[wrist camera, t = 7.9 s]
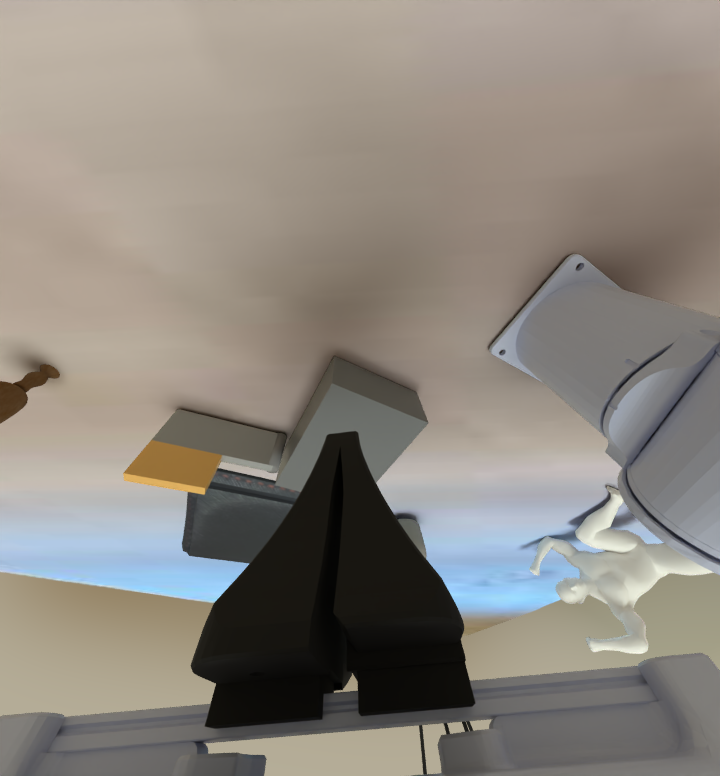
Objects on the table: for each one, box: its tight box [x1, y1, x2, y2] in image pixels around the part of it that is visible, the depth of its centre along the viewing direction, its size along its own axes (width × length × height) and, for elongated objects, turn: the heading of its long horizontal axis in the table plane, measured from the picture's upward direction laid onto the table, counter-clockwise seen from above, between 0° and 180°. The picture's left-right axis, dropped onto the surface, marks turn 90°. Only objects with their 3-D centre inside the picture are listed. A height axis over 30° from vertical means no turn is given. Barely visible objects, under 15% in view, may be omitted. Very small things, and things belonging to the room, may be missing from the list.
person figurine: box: [529, 486, 713, 654], centre depth 34 cm, size 13×13×18 cm
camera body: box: [275, 356, 428, 492], centre depth 23 cm, size 8×13×4 cm, turn 152°
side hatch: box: [123, 409, 287, 495], centre depth 21 cm, size 1×10×7 cm, turn 68°
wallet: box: [182, 468, 300, 563], centre depth 34 cm, size 20×2×15 cm
